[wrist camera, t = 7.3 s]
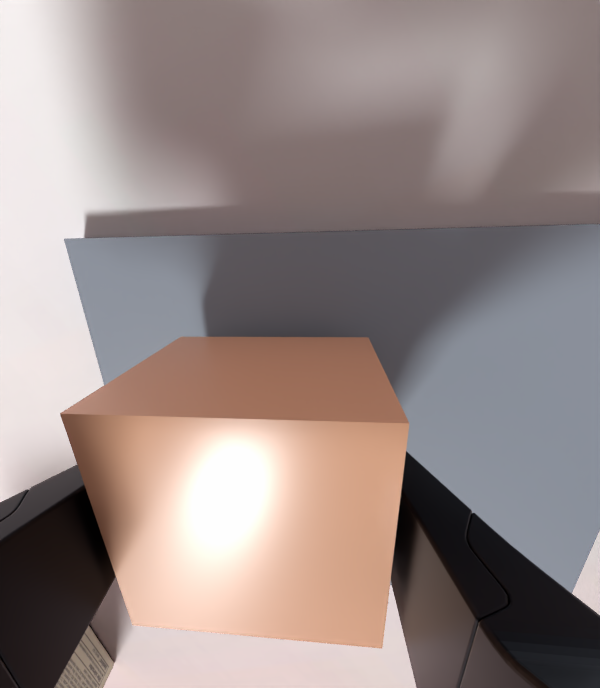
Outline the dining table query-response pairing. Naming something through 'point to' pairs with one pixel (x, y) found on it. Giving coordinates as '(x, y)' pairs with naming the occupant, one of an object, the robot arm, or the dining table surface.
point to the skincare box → (87, 665)
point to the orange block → (249, 486)
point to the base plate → (406, 346)
